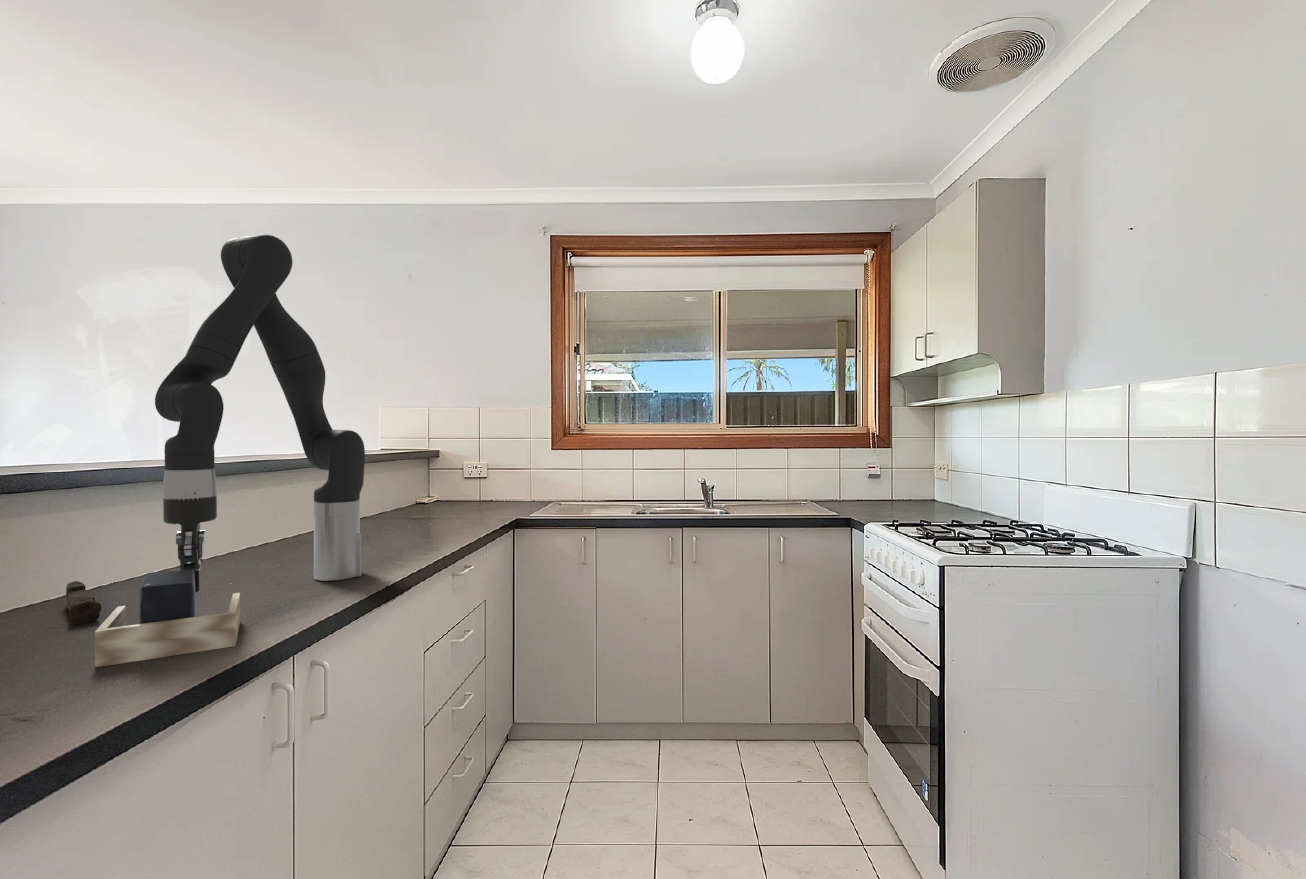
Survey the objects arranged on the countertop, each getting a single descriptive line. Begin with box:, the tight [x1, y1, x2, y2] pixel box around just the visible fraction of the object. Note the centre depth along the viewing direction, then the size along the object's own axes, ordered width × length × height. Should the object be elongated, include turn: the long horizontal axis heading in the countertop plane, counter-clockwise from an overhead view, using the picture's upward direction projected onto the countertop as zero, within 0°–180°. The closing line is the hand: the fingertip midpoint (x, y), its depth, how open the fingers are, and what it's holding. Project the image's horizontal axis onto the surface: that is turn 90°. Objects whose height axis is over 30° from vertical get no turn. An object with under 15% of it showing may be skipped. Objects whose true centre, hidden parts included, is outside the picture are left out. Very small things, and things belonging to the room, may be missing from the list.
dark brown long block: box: [65, 580, 102, 626], centre depth 109 cm, size 19×4×5 cm, turn 46°
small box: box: [139, 570, 196, 624], centre depth 93 cm, size 11×6×10 cm, turn 36°
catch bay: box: [94, 592, 241, 668], centre depth 93 cm, size 16×14×5 cm
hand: (191, 591), depth 107 cm, fingers closed
